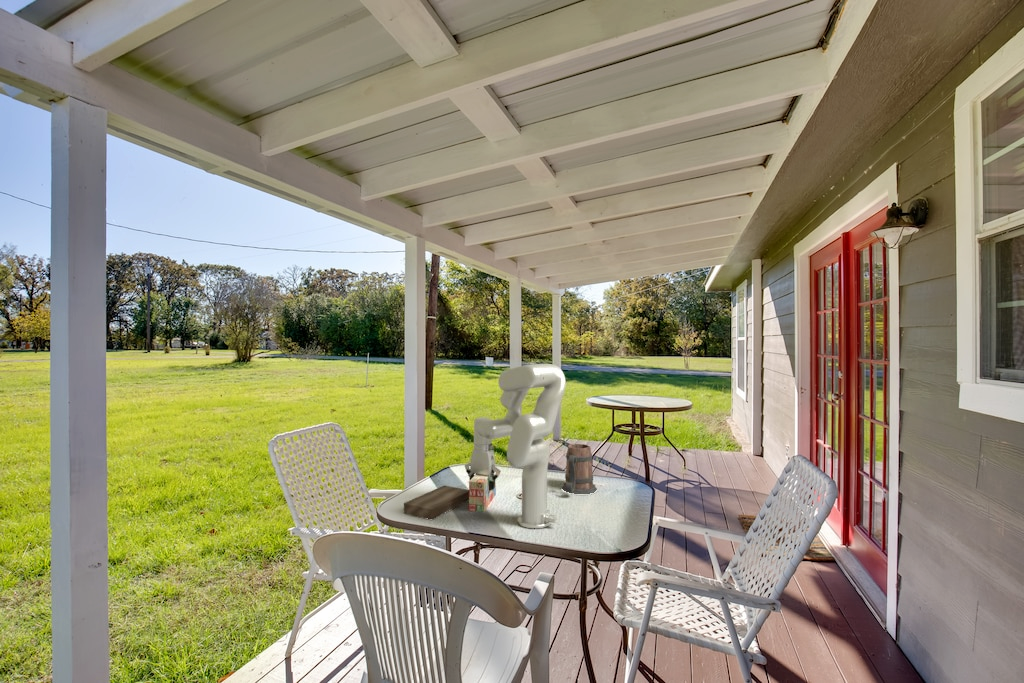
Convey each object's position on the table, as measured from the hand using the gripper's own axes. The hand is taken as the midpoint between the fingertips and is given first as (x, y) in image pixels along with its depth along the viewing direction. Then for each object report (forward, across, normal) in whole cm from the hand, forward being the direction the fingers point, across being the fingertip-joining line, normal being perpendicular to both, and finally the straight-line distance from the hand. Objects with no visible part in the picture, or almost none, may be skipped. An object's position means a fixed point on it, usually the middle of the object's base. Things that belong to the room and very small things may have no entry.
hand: (481, 487), depth 193 cm
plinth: (+7, +13, +12) cm, 19 cm away
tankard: (+6, -30, -34) cm, 45 cm away
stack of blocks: (+7, 0, 0) cm, 7 cm away
